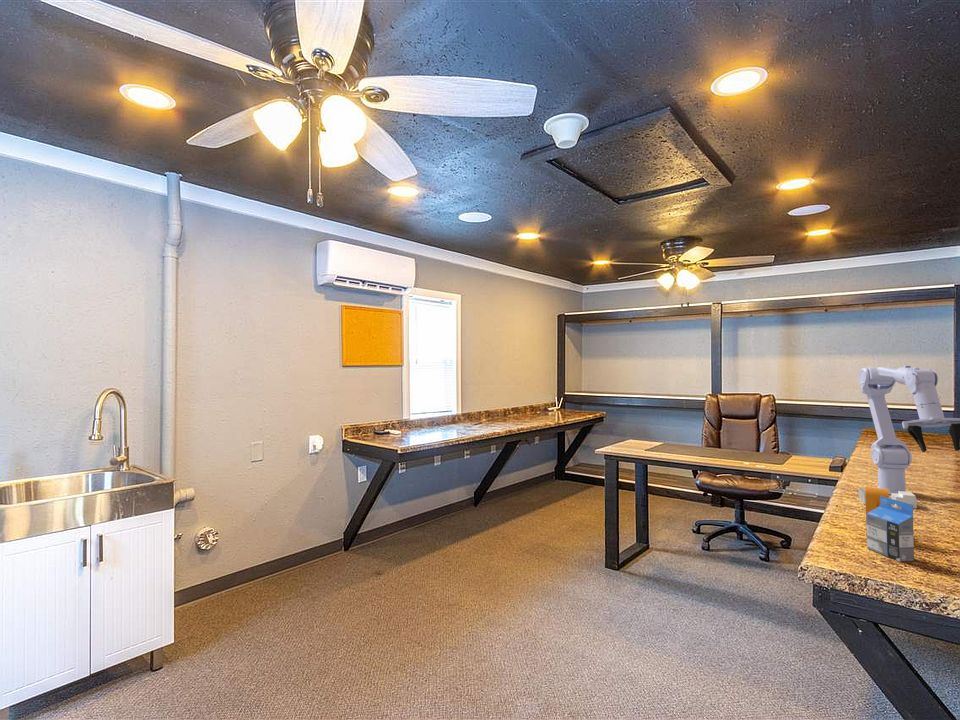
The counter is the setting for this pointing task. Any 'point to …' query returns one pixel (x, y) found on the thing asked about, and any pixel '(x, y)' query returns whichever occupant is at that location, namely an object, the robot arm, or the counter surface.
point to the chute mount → (863, 495)
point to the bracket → (874, 498)
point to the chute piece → (905, 498)
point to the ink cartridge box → (891, 530)
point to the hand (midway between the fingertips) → (940, 450)
